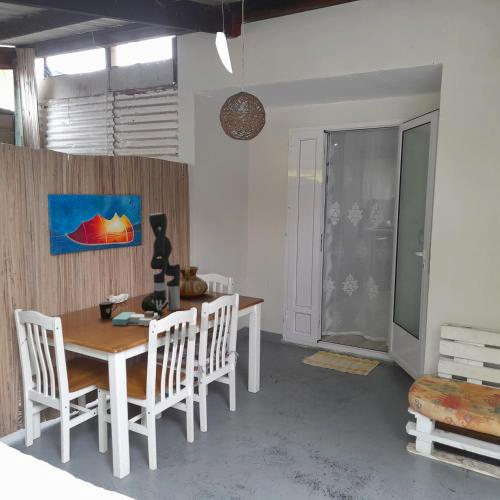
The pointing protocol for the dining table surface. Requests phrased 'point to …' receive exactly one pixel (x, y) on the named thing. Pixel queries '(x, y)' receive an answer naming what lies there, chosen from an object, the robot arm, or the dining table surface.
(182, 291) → the jug
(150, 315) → the walnut block
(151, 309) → the squash
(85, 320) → the dining table surface
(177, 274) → the robot arm
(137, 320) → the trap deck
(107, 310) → the coffee mug
